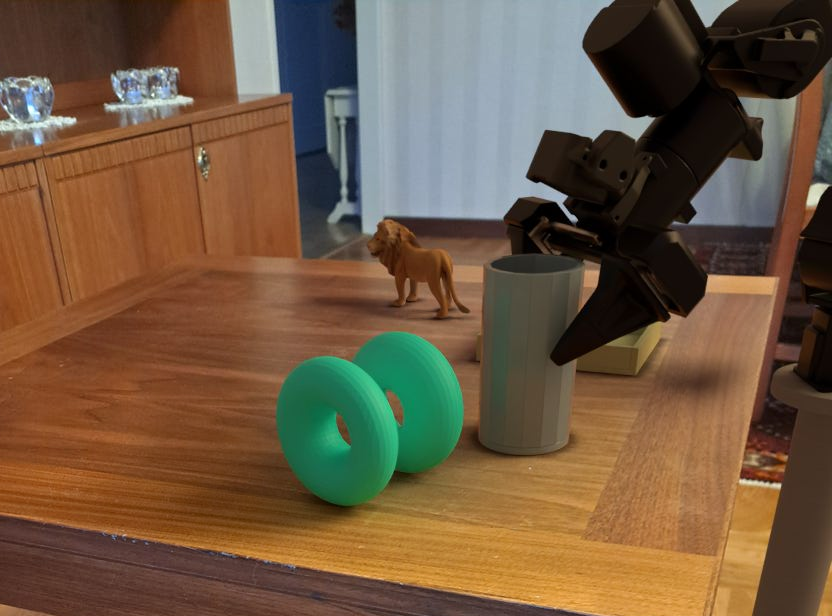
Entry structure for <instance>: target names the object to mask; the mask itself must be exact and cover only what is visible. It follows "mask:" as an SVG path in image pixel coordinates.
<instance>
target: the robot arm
mask: <svg viewBox="0 0 832 616" xmlns="http://www.w3.org/2000/svg"><path fill="white" fill-rule="evenodd" d="M581 48H582V50H583V51H584V54H585V55H586V56H587V57H588V59H589V61H590V62H591V64H592V66H594V68H595V70H596V72H598V74H599V76H600V77H601V79H602V80H603V81H604V83H605V84H606V86H607V88H608V89H609V90H610V92H611V93H612V95H613V97H614V98H615V99H616V101H617V102H618V104H619V106H620V107H621V108H622V110H623V112H624V113H625V114H626V116H628V117H629V118H631V119H640V118H645V117H648V118H650V119H653V120H652V121H651V122H650V123H649V125H648V127H646V129H645V130H644V131H643V132H642V134H641V135H640V136H639V137H638V139H637V140H636V138H633V137H632V136H630V135H628V134H627V133H626V132H623V131H621V130H612V129H604V130H602V131H601V132H600V133H599V135H597V137H596V138H594V140H593V138H592V137H590V136H583V135H580V134H576V133H573V132H567V131H559V130H554V129H553V130H552V129H544V131H543V133H542V136H541V138H540V140H539V143H538V145H537V147H536V150H535V153H534V155H533V157H532V160H531V162H530V165H529V166H528V169H527V171H526V174H525V179H527V180H529V181H530V182H532V183H534V184H539V183H541V184H543V185H545V186H547V187H549V188H550V189H553V190H555V191H557V192H558V193H561V194H563V195H565V196H567V197H566V198H565V199H564V201H562V205H563V207H564V208H565V209H566V210H567V211H568V213H569V214H570V215H571V216H574V217H575V218H576V219H577V221H575V224H574V223H573V222H572V220H571V219H570V218H569V216H568V215H567V213H566V212H565V211H564V210H563V208H561V205H559V204H558V202H557V201H554V200H550V199H545V198H541V197H537V196H523V197H518V198H517V199H516V201H515V202H514V203H513V204H512V205H511V207H510V208H509V209H508V210H507V212H506V213H505V214H504V216H503V217H502V219H503V222H504V224H506V231H505V234H506V237H507V238H508V239H509V241H510V250H511V251H510V252H511V255H515V254H557V255H564V256H571V257H574V258H577V259H580V260H582V261H583V262H584V261H586V262H591V263H593V264H597V265H600V266H599V272H598V280H597V285H596V287H595V288H594V291H593V292H591V293H592V294H591V295H590V296H589V297H588V299H587V300H586V301H585V303H584V304H583V306H582V307H581V310H580V311H579V313H578V314H577V316H576V317H575V318H574V320H573V321H572V323H571V324H570V325H569V327H568V328H567V329H566V331H565V332H564V334H563V335H562V336H561V338H560V340H559V341H558V343H557V344H556V346H555V348H554V349H553V351H552V352H551V354H550V359H551V360H552V361H553V363H554V364H555V365H557V366H563V365H565V364H567V363H569V362H571V361H573V360H575V359H577V358H579V357H581V356H583V355H585V354H587V353H589V352H591V351H593V350H595V349H597V348H599V347H601V346H603V345H605V344H607V343H610V342H612V341H614V340H616V339H618V338H620V337H623V336H625V335H627V334H630V333H632V332H635V331H637V330H639V329H642V328H644V327H646V326H649V325H651V324H654V323H656V322H662V324H663V323H664V324H665V323H667V322H668V321H669V320H671V318H672V316H671V314H673V315H674V316H678V317H681V318H684V319H687V318H688V317H689V316H690V314H691V313H692V312H693V311H694V309H695V308H697V306H698V305H699V304H700V303H701V302H702V300H703V299H704V298H705V296H706V292H707V285H708V279H709V275H708V273H707V272H706V270H705V269H704V267H703V266H702V265H701V263H700V262H699V260H698V259H697V258H696V256H695V255H694V253H693V252H692V250H691V249H690V248H689V246H688V245H687V243H686V242H685V240H684V239H683V237H682V236H681V235H680V233H679V232H678V230H676V229H671V228H670V227H671V226H672V225H673V224H674V222H675V223H679V224H684V225H686V226H687V225H689V224H690V222H691V221H692V220H693V219H694V218H695V217H696V215H697V214H698V212H697V210H696V208H695V207H694V206H693V203H691V202H692V201H693V199H694V198H695V197H696V196H697V195H698V194H699V192H700V191H701V190H702V189H703V188H704V186H705V185H706V184H707V183H708V181H710V179H711V178H713V176H714V175H715V173H716V172H717V171H718V169H720V167H721V166H722V165H723V164H724V163H725V161H727V159H728V158H729V159H736V160H743V161H751V162H758V161H760V160H761V159H762V158H763V153H764V139H763V133H762V132H763V127H764V123H765V121H764V118H763V117H760V116H750V115H749V114H748V112H747V111H746V108H745V107H744V105H743V103H742V101H741V100H740V98H747V99H762V100H763V99H764V100H780V101H781V100H790V99H792V98H795V97H797V96H798V95H799V94H801V93H802V92H804V91H805V90H806V89H807V88H808V87H809V86H810V85H811V84H812V83H813V81H814V80H815V79H816V78H817V77H818V75H819V74H820V73H821V72H822V70H823V69H825V67H826V66H827V65H828V63H829V62H830V61H831V59H832V0H736V1H735V2H734V3H731V4H730V5H729V6H727V7H726V8H725V9H724V10H722V11H721V12H720V14H718V15H717V17H716V18H715V19H714V21H713V22H712V23H711V25H709V26H706V25H705V24H704V22H703V20H702V18H701V17H700V15H699V13H698V11H697V9H696V7H695V5H694V4H693V2H692V0H613V1H612V2H611V3H610V4H609V5H608V6H604V7H603V8H601V9H600V10H599V12H598V13H597V14H596V15H595V16H594V17H593V19H592V21H591V22H590V24H588V27H587V29H586V31H585V32H584V35H583V37H582V42H581ZM799 237H800V238H803V240H802V241H801V244H800V247H799V249H798V252H797V257H796V264H798V268H799V277H800V291H801V301H802V303H803V304H806V305H814V306H815V307H814V311H813V317H812V320H811V324H808V325H806V326H805V328H804V331H803V335H802V336H803V337H802V340H801V341H802V342H801V346H800V350H799V354H798V360H797V363H798V364H797V366H794V367H793V372H794V373H795V374H796V375H798V376H799V377H800V378H802V379H803V380H804V381H805V382H807V383H808V384H809V385H810V386H812V387H813V388H814V389H816V390H817V391H818V392H821V393H832V185H828V186H827V187H826V189H825V190H824V191H823V192H822V194H821V195H820V197H819V199H818V202H817V204H816V207H815V210H814V212H813V215H812V217H811V218H810V220H809V221H808V223H807V225H806V226H805V227H804V228H803V229H802V231H801V232H799Z"/></svg>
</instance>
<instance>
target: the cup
mask: <svg viewBox="0 0 832 616" xmlns="http://www.w3.org/2000/svg"><path fill="white" fill-rule="evenodd" d="M482 266H483V268H482V270H483V271H482V294H481V295H482V296H481V297H482V299H481V323H480V324H481V326H480V327H481V328H480V329H481V330H480V332H481V353H480V361H479V382H478V383H479V386H478V387H479V388H478V412H477V415H478V416H477V431H478V435H477V438H478V441H479V443H480V444H481V445H482V446H483V447H485V448H487V449H489V450H491V451H494V452H497V453H502V454H507V455H513V456H515V455H516V456H537V455H543V454H548V453H552V452H553V453H554V452H556V451H559V450H560V449H562V448H564V447H566V445H567V444H568V443H569V441H570V434H571V430H572V429H571V427H572V418H573V408H574V407H573V406H574V397H575V386H576V385H575V382H576V372H577V370H576V363H577V359H575V360H573V361H571V362H569V363H567V364H565V365H563V366H557V365H555V364H554V363H553V361H552V360H551V359H550V354H551V352H552V351H553V349H554V348H555V346H556V344H557V343H558V341H559V340H560V338H561V336H562V335H563V334H564V332H565V331H566V329H567V328H568V327H569V325H570V324H571V323H572V321H573V320H574V318H575V317H576V316H577V314H578V313H579V311H580V310H581V309H582V307H583V306H582V305H583V296H584V295H583V294H584V283H585V272H586V262H584V261H582V260H580V259H577V258H574V257H571V256H564V255H557V254H515V255H512V254H508V255H501V256H498V257H493V258H491V259H488V260H487V261H485V262H484V263H483V265H482Z"/></svg>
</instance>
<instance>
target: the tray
mask: <svg viewBox="0 0 832 616" xmlns="http://www.w3.org/2000/svg"><path fill="white" fill-rule="evenodd" d="M662 324H663V322H656V323H654V324H651V325H649V326H646V327H644V328H642V329H639V330H637V331H635V332H632V333H630V334H627V335H625V336H623V337H620V338H618V339H616V340H614V341H612V342H610V343H607V344H605V345H603V346H601V347H599V348H597V349H595V350H593V351H591V352H589V353H587V354H585V355H583V356H581V357H579V358H577V363H576V371H580V372H581V371H582V372H593V373H601V374H603V373H604V374H613V375H625V376H634V377H635V376H637V374H638V373H639V371H640V370H641V368H642V366H643V365H644V363H645V362H646V361H647V359H648V357H649V356H650V355H651V353H652V351H653V350H654V349H655V347H656V345H657V344H658V342H659V341H660V339H661V331H662ZM480 353H481V331H480V332H478V334H477V335H476V356H475V360H476V362H480Z"/></svg>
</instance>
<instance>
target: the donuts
mask: <svg viewBox="0 0 832 616" xmlns="http://www.w3.org/2000/svg"><path fill="white" fill-rule="evenodd" d="M442 353H443V352H441V351H440V350H439V349H438V348H437V347H436V346H435V345H434V344H432V343H431V342H429V341H428V340H426V339H425V338H423V337H421V336H419V335H416V334H414V333H411V332H407V331H399V330H398V331H397V330H395V331H394V330H393V331H386V332H383V333H380V334H377V335H375V336H373V337H372V338H370V339H369V340H368V341H366V342H365V343H364V344H362V345H361V346H360V348H359V349H358V350H357V352H356V353H355V355H354V356H353V357H352V359H351V361H349V360H347V359H345V358H342V357H341V358H340V357H337V356H333V355H331V356H330V355H322V356H315V357H312V358H309V359H306V360H303V361H302V362H301V363H299V364H298V365H296V366H295V368H293V369H292V370H291V371H290V372H289V373H288V375H287V376H286V378H285V379H284V381H283V382H282V385H281V387H280V389H279V393H278V396H277V400H276V407H275V425H276V432H277V437H278V442H279V444H280V449H281V451H282V454H283V455H284V458H285V460H286V462H287V465H288V466H289V468H290V469H291V471H292V472H293V474H294V475H295V476H296V478H297V479H298V481H300V483H301V484H302V485H303V486H304V487H305V488H306V489H307V490H309V491H310V492H311V493H312V494H314V496H316V497H318V498H320V499H321V500H322V501H325V502H326V503H330V504H333V505H338V506H343V507H352V506H358V505H363V504H365V503H367V502H369V501H371V500H373V499H374V498H376V497H377V496H378V495H380V493H381V492H383V491H384V489H385V488H386V486H387V485H388V484H389V482H390V480H391V479H392V476H393V474H394V472H395V471H396V472H400V473H405V474H419V473H424V472H428V471H429V470H430V471H431V470H432V469H434V468H436V467H438V466H439V465H441V464H442V463H443V462H444V461H446V459H447V458H448V457H449V456H450V455H451V454H452V453H453V451H454V449H455V448H456V446H457V444H458V442H459V439H460V436H461V433H462V430H463V426H464V425H463V424H464V419H465V418H464V415H465V413H464V412H465V411H464V410H465V407H464V399H463V394H462V389H461V386H460V383H459V380H458V377H457V375H456V373H455V371H454V369H453V367H452V365H451V364H450V362H449V361H448V360H447V358H446V357H445V356H444V354H442ZM388 391H390V392H391V393H393V394H394V396H396V398H397V399H398V402H400V405H401V407H402V411H403V413H402V414H403V421H402V424H400V422H398V421H397V419H396V418H395V415H394V411H393V409H392V407H391V405H390V403H389V400H388ZM337 414H338V415H339V417H340V418H341V420H342V421H343V423H344V425H345V428H346V429H347V433H348V436H349V440H350V444H349V443H347V442H346V441H345V440H344V438H343V436H342V435H341V433H340V430H339V428H338V425H337Z"/></svg>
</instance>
